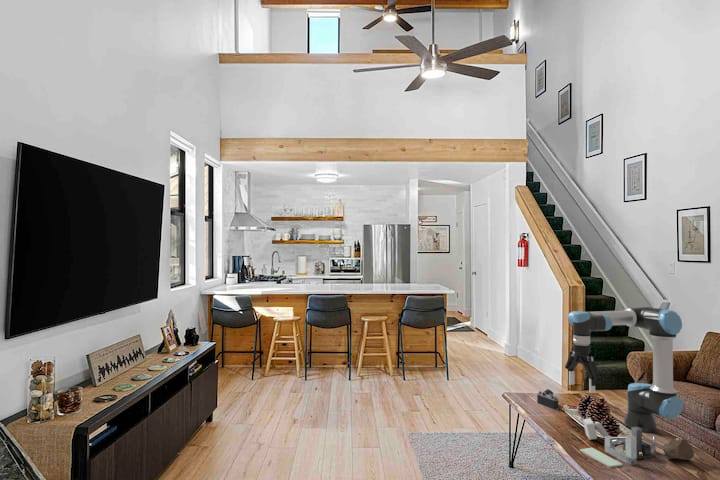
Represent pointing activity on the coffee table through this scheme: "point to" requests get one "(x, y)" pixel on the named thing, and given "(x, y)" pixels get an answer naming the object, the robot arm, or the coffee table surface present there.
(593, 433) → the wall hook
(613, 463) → the pad
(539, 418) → the coffee table surface
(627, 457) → the white slotted block
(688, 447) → the rock
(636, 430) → the vise
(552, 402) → the camera
